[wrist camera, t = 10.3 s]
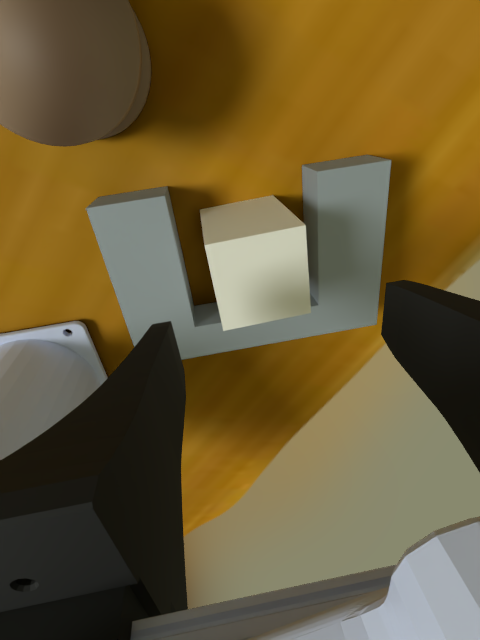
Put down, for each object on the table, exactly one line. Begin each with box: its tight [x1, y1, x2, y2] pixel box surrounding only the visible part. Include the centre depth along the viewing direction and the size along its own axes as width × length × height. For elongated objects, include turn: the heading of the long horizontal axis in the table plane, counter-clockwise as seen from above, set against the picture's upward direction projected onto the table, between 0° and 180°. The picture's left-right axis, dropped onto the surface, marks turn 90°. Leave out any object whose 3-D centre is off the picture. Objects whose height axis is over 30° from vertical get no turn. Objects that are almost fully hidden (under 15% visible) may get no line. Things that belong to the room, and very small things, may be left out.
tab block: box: [200, 195, 311, 331], centre depth 17 cm, size 4×4×6 cm
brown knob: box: [0, 0, 151, 146], centre depth 13 cm, size 6×6×4 cm
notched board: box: [86, 155, 391, 360], centre depth 19 cm, size 14×9×2 cm, turn 97°
